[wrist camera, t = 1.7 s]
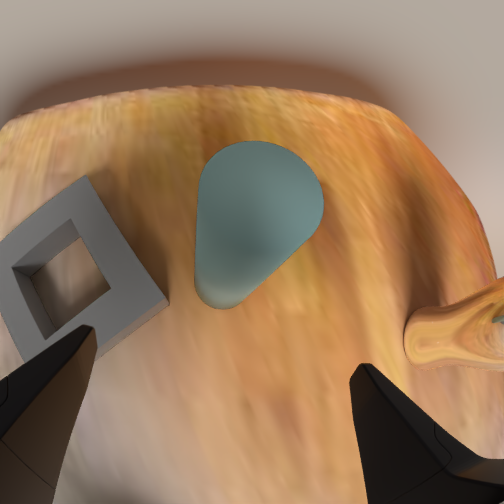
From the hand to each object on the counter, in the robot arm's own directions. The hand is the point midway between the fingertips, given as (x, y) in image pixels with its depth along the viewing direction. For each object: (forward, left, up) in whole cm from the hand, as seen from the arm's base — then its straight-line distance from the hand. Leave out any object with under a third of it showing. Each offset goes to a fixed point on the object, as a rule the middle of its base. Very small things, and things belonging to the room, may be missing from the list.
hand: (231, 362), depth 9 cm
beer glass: (-13, -15, -11) cm, 23 cm away
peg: (+3, -4, -11) cm, 12 cm away
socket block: (+10, +6, -11) cm, 16 cm away
